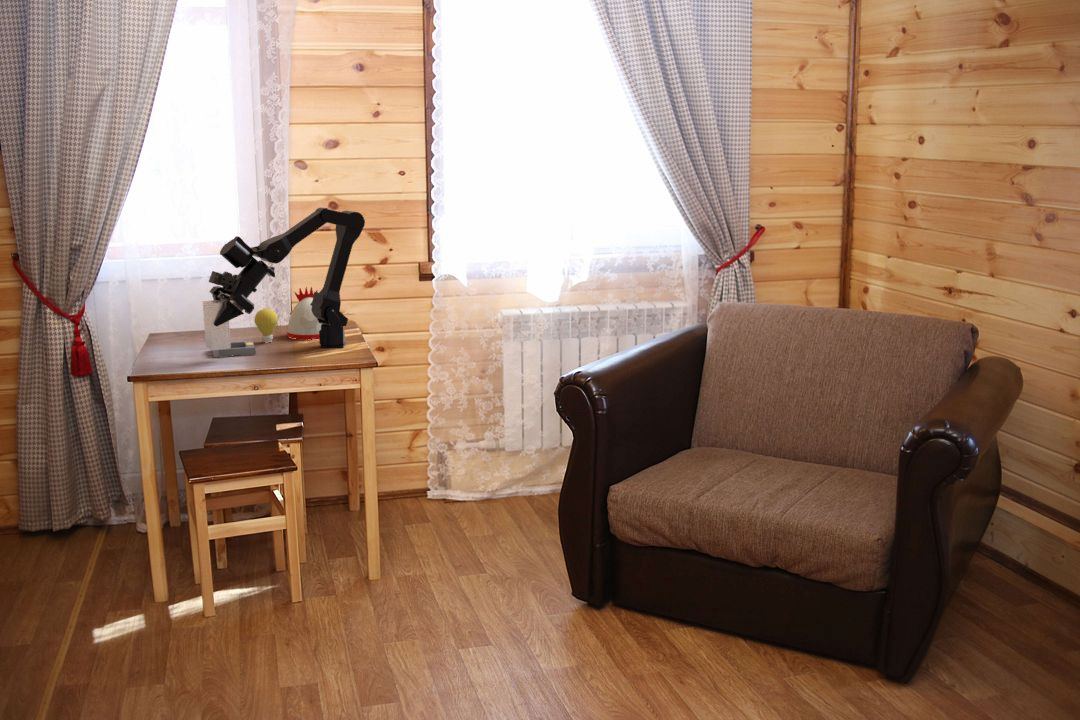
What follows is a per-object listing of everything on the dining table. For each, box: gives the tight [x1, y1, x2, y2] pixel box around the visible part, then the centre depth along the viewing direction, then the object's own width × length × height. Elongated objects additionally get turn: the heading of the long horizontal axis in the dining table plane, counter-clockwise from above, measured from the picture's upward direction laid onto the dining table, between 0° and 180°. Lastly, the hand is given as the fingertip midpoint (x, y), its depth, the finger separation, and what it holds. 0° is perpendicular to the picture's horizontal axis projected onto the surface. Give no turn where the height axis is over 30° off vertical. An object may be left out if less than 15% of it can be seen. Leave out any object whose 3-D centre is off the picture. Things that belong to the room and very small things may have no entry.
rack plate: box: [212, 340, 256, 358], centre depth 297 cm, size 11×10×2 cm
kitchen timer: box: [286, 286, 322, 341], centre depth 320 cm, size 14×14×15 cm
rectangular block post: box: [202, 299, 231, 351], centre depth 285 cm, size 5×5×12 cm
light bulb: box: [254, 308, 279, 343], centre depth 310 cm, size 7×7×10 cm
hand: (211, 323), depth 284 cm, fingers closed on rectangular block post, 5 cm apart
